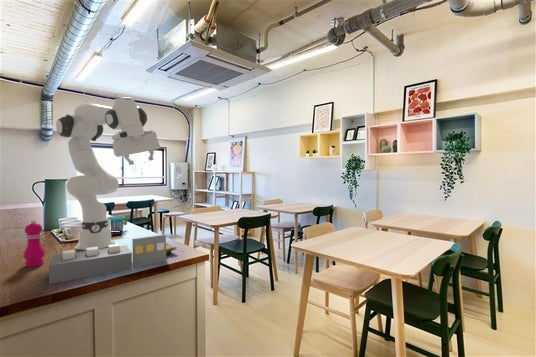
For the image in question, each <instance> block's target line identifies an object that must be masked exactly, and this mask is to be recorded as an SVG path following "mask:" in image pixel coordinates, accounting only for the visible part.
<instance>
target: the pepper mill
mask: <svg viewBox="0 0 536 357" xmlns="http://www.w3.org/2000/svg"><path fill="white" fill-rule="evenodd" d="M36 222H37V220H35V219H32V220H31V221H30V223H29V224H27V225H25V227H24V233H25V234H26V239H27V245H26V249H25V250H24V251H23V259H24V260H25V263H24V264H25V265H24V266H25V267H27V268H35V267H37V266H38V267H39V266H41V265H44V263H45V262H44V260H45V259H44V256H45V255H46V254H45V253H46V252H45V249H44V248H43V246H42V244H41V238H42V233H41V232H42V231H43V227H42V225H41V224H40V223H38V222H37V223H36Z"/></svg>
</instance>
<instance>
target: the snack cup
mask: <svg viewBox="0 0 536 357" xmlns="http://www.w3.org/2000/svg"><path fill="white" fill-rule="evenodd" d="M107 219H110V220H111V231H122V232H123V230H124V225H125V226H127V225H128V220H127V218H126V216H124V215H112V216H108V217H107Z"/></svg>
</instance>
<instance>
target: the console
mask: <svg viewBox="0 0 536 357" xmlns="http://www.w3.org/2000/svg"><path fill="white" fill-rule="evenodd" d="M132 262H133V251H132V250H130V247H129V246H128V245H127V244H126V245H120V252H114V253H108V247H105V248H101V249H98V255H94V256H87V254H86V250H83V251H82V250H81V251H75V258H74V259H67V260H63V257H62V253H59V254H55V255H54V254H53V255H51V257H50V259H49V263H48V285H53V284H58V283H62V282H68V281H74V280H80V279H84V278H85V279H86V278H90V277H95V276H101V275H107V274H112V273H118V272H123V271H128V270H133V265H132Z"/></svg>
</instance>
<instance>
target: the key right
mask: <svg viewBox="0 0 536 357" xmlns="http://www.w3.org/2000/svg"><path fill="white" fill-rule="evenodd" d="M120 246H121V245H120V244H119V243H115V244H112V245H108V247H107V248H108V253H114V252H120Z"/></svg>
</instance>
